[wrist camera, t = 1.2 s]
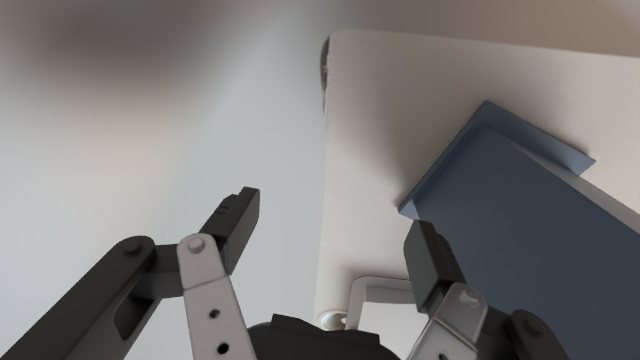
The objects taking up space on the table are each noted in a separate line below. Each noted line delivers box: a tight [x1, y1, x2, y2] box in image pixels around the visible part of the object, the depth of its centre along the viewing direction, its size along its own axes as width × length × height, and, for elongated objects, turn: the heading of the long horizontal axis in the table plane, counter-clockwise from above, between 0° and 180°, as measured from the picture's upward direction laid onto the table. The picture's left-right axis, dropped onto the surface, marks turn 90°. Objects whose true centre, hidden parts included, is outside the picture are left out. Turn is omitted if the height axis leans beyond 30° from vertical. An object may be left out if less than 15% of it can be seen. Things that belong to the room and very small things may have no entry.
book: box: [345, 276, 429, 360], centre depth 45 cm, size 15×23×4 cm, turn 178°
